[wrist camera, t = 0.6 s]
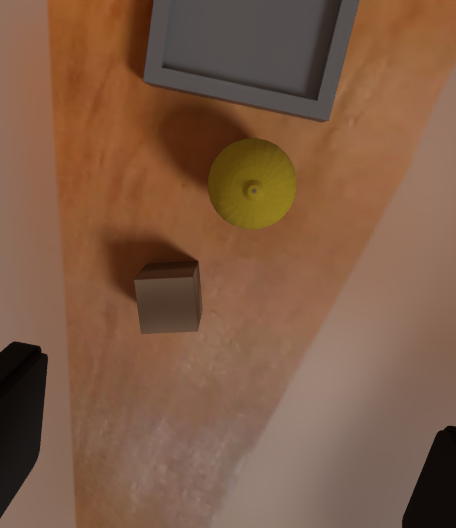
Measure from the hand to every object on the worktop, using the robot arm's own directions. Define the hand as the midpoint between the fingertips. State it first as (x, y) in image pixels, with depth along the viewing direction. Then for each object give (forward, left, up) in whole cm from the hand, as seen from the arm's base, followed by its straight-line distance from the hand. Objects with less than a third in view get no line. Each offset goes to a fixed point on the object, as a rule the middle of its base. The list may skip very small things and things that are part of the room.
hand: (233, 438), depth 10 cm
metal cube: (+5, -4, -22) cm, 23 cm away
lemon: (-4, 0, -22) cm, 23 cm away
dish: (-15, -2, -22) cm, 27 cm away
